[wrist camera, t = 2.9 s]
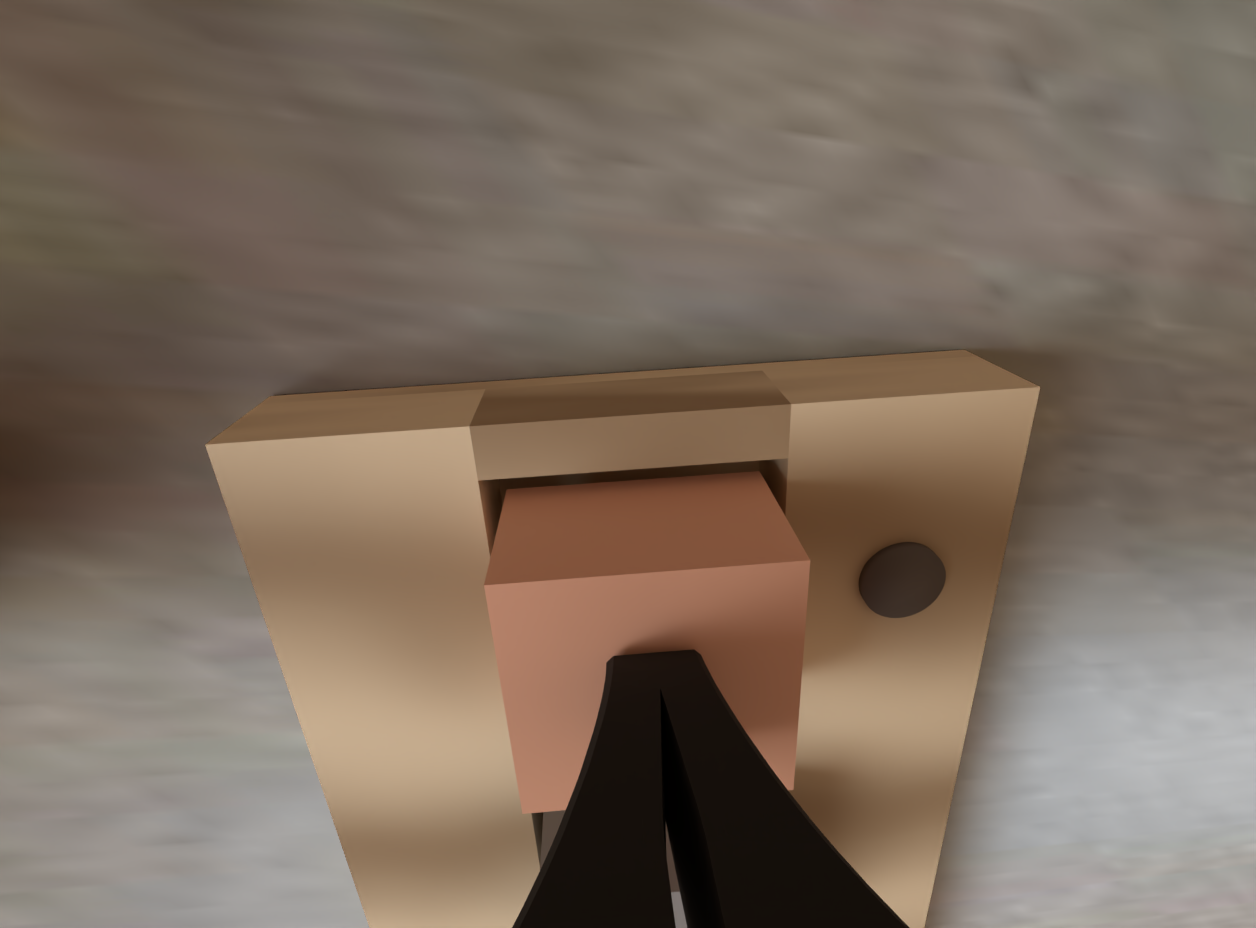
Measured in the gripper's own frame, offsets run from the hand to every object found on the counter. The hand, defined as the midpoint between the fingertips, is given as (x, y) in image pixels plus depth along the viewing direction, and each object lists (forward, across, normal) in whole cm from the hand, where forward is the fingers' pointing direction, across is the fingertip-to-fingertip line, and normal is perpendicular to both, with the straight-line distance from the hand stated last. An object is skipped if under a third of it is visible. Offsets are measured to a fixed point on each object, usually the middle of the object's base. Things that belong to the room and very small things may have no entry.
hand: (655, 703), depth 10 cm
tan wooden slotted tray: (+5, 0, +7) cm, 9 cm away
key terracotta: (+3, 0, 0) cm, 3 cm away
